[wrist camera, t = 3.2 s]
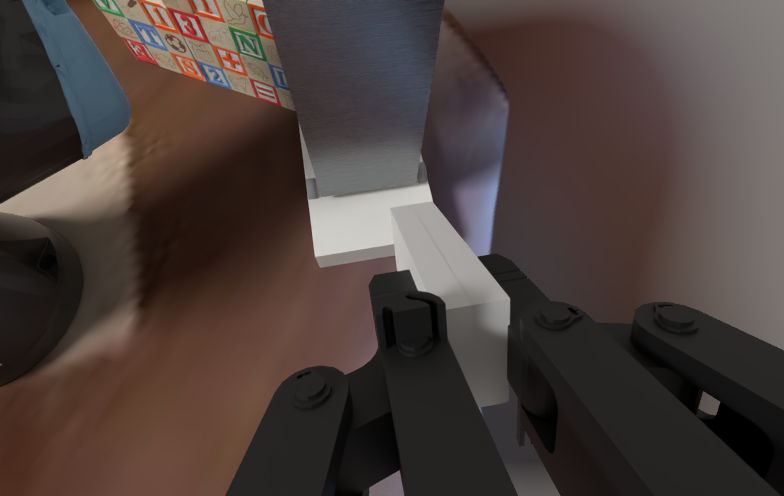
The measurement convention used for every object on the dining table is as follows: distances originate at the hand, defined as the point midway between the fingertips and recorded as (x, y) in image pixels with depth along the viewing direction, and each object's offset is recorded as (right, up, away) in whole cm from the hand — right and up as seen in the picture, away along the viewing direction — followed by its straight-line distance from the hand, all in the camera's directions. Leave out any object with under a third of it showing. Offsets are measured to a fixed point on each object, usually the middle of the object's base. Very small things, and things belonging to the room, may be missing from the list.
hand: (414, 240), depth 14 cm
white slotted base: (-3, +6, +25) cm, 26 cm away
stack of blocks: (-19, +20, +31) cm, 41 cm away
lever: (-3, +6, +21) cm, 22 cm away
